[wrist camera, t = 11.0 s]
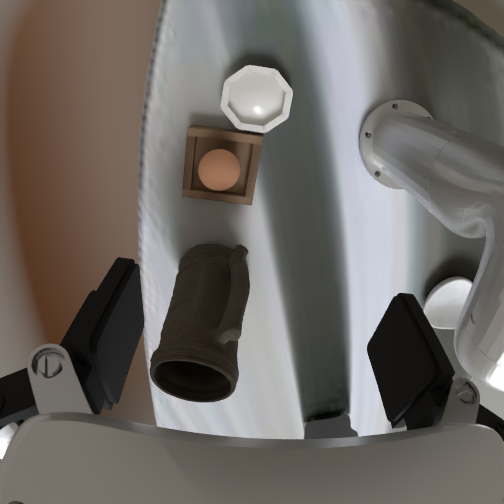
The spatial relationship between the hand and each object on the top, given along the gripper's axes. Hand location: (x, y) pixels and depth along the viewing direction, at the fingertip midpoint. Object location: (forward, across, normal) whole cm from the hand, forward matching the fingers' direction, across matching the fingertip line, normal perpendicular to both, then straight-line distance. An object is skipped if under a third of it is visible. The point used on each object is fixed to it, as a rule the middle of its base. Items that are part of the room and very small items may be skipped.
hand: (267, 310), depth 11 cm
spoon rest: (+31, -45, +20) cm, 58 cm away
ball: (+29, +4, +3) cm, 30 cm away
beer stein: (+31, +3, +19) cm, 36 cm away
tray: (+30, +4, +4) cm, 31 cm away
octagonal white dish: (+30, +1, -6) cm, 31 cm away
